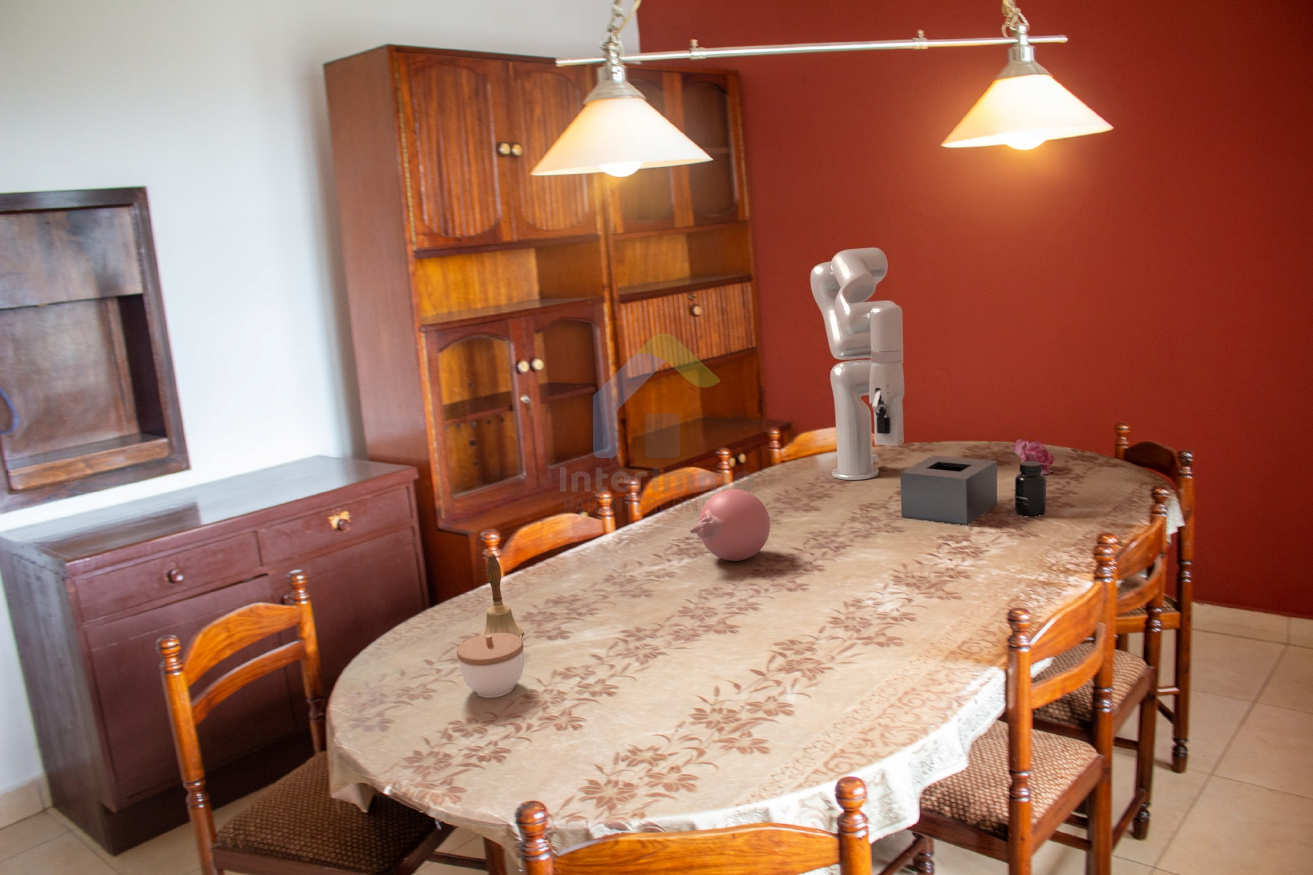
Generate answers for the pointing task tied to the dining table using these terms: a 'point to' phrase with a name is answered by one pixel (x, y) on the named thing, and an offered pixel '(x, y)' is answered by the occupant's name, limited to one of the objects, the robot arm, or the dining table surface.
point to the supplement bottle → (1030, 490)
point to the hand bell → (498, 604)
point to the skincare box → (892, 424)
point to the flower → (1034, 454)
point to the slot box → (949, 489)
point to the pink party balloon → (733, 525)
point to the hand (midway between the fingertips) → (888, 430)
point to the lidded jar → (491, 663)
